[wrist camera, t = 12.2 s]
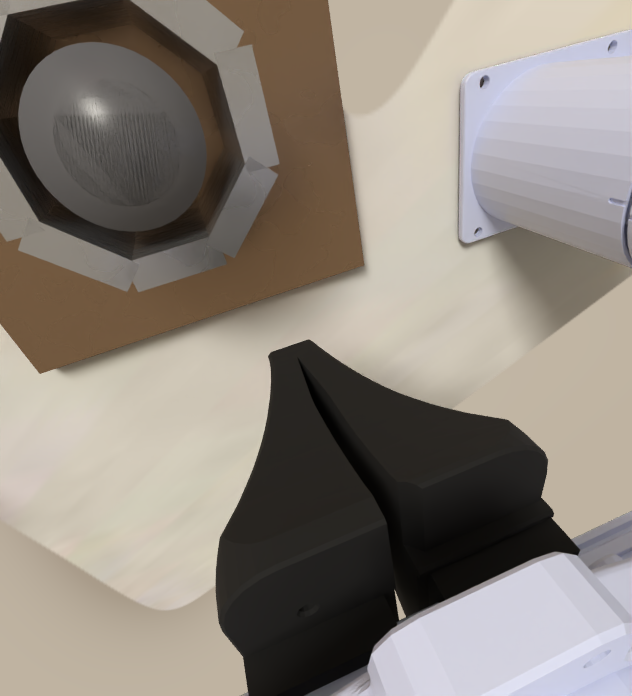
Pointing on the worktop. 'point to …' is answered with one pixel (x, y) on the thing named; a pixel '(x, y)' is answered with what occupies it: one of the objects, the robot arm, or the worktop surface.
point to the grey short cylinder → (112, 136)
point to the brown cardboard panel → (217, 188)
